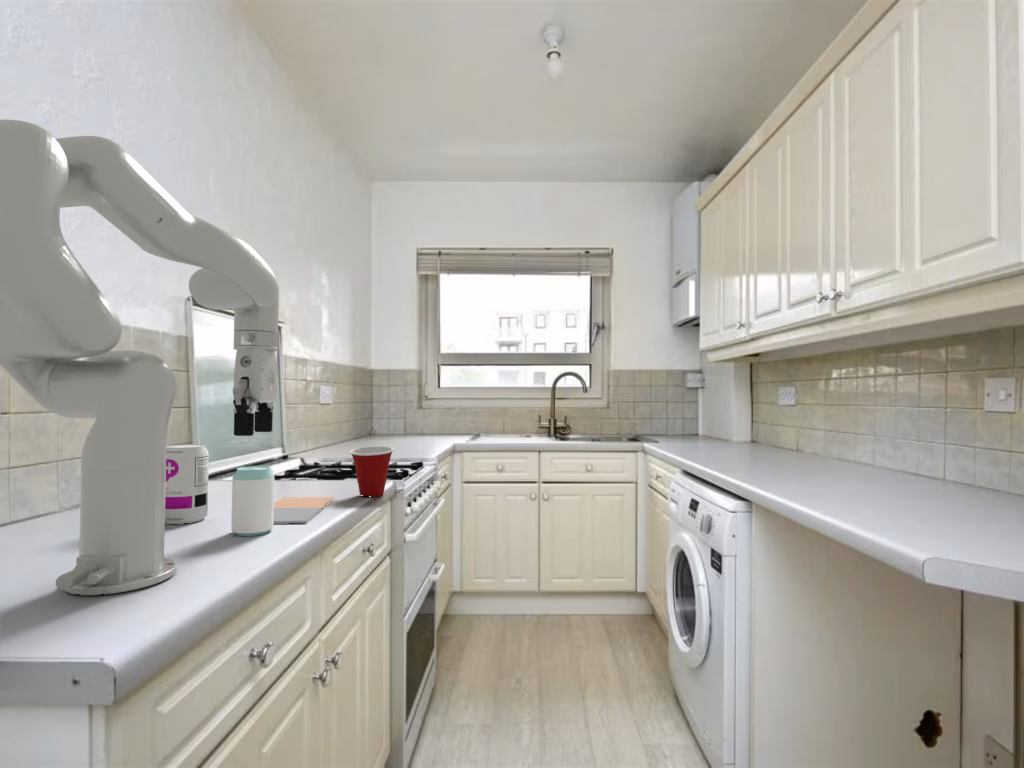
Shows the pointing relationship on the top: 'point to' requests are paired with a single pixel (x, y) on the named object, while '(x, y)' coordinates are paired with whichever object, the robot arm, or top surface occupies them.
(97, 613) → the top surface
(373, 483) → the plastic cup
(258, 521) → the can
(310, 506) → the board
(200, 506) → the supplement can
